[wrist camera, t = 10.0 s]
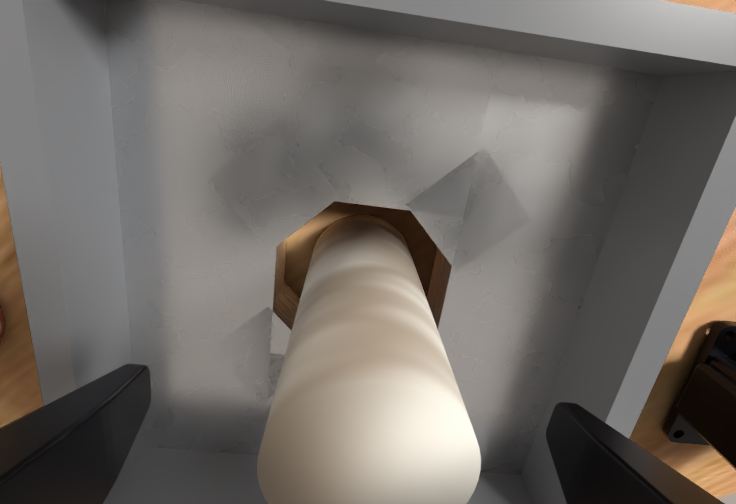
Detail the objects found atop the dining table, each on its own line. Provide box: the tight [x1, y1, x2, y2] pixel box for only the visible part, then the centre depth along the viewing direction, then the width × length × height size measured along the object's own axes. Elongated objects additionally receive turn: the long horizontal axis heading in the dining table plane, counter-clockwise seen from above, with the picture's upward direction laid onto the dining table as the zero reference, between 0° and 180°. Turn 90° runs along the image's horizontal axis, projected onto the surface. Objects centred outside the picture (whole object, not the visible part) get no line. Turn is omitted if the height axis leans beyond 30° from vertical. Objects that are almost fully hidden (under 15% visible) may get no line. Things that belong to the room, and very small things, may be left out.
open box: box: [0, 0, 736, 504], centre depth 14 cm, size 18×18×6 cm
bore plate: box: [103, 0, 663, 475], centre depth 15 cm, size 16×16×2 cm
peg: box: [257, 215, 481, 504], centre depth 12 cm, size 4×4×10 cm
